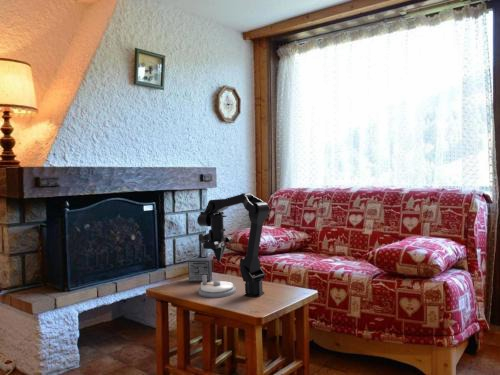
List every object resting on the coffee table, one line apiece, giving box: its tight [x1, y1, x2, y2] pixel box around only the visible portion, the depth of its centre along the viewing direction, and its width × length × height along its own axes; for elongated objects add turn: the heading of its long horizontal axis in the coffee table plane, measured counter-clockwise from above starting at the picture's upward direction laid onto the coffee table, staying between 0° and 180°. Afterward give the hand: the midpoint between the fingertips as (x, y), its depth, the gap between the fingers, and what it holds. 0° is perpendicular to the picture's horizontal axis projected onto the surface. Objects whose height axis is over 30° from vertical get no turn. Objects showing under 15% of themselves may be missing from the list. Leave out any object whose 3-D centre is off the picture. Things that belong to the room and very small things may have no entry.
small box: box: [187, 257, 213, 283], centre depth 205 cm, size 11×6×10 cm, turn 84°
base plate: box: [198, 282, 236, 299], centre depth 184 cm, size 16×16×4 cm
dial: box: [200, 275, 234, 293], centre depth 184 cm, size 14×14×5 cm
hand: (218, 261), depth 192 cm, fingers closed
